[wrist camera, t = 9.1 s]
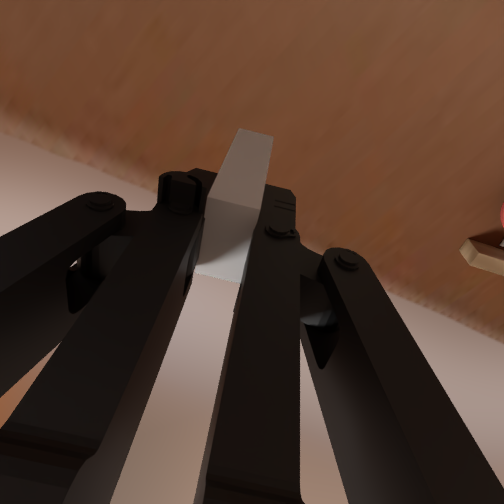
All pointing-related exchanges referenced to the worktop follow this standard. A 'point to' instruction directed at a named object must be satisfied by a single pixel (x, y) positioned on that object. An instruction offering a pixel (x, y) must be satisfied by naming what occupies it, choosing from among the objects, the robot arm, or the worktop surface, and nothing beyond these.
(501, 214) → the ball
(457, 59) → the worktop surface
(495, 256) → the wooden angle block
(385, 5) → the worktop surface
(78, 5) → the worktop surface
